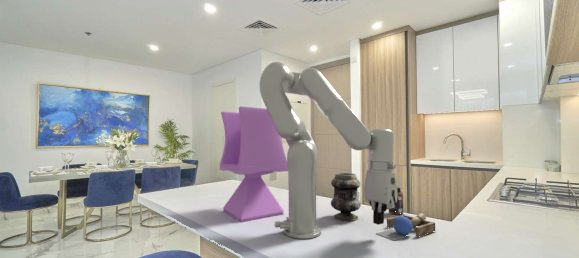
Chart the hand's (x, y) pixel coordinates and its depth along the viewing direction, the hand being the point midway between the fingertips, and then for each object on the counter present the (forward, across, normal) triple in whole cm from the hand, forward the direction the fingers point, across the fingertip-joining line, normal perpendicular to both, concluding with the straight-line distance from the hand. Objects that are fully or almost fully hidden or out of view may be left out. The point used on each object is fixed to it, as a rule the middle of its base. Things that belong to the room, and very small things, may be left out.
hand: (378, 223), depth 83 cm
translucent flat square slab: (+4, -1, -6) cm, 8 cm away
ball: (+1, -3, -9) cm, 10 cm away
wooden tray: (+4, -1, -16) cm, 17 cm away
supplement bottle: (+4, +14, -30) cm, 34 cm away
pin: (+3, -1, -13) cm, 13 cm away
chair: (+7, +49, +22) cm, 54 cm away
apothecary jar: (+5, +22, -7) cm, 24 cm away
